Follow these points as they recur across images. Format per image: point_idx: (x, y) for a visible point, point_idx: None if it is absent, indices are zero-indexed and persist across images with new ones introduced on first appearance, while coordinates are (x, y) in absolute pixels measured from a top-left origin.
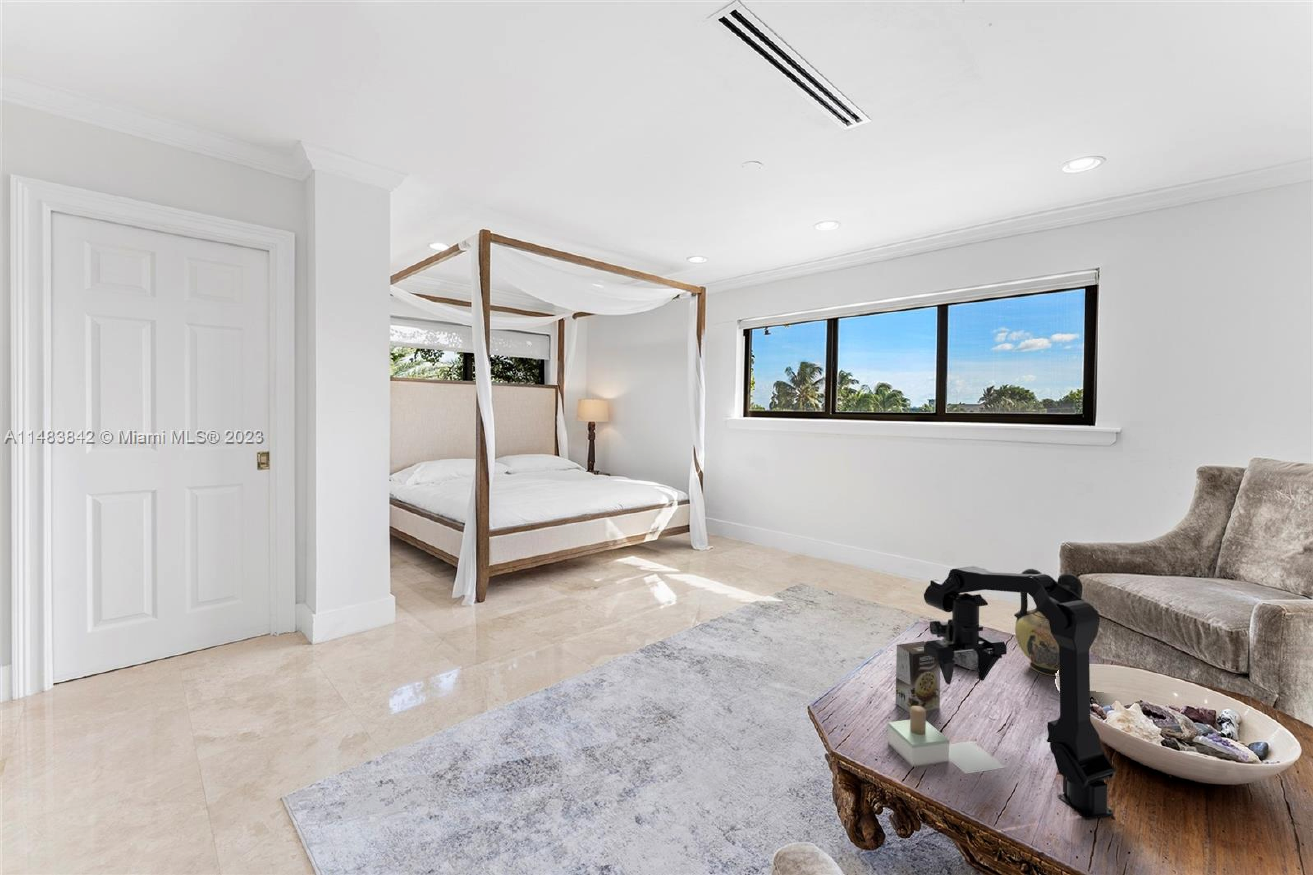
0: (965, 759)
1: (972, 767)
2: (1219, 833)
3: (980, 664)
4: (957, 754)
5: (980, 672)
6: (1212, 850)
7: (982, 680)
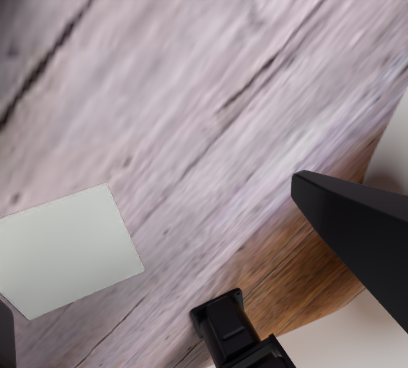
0: (49, 271)
1: (58, 294)
2: (321, 297)
3: (405, 251)
4: (30, 258)
5: (333, 217)
6: (291, 322)
7: (295, 198)
